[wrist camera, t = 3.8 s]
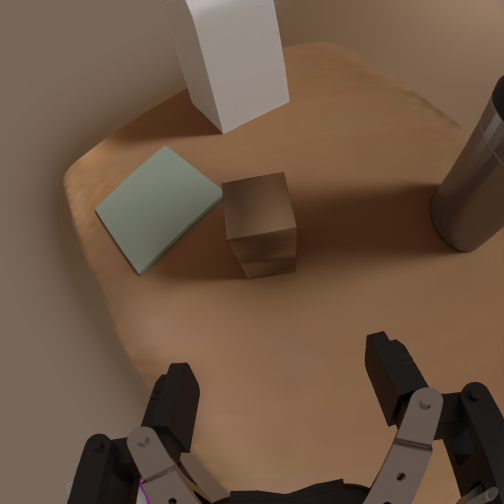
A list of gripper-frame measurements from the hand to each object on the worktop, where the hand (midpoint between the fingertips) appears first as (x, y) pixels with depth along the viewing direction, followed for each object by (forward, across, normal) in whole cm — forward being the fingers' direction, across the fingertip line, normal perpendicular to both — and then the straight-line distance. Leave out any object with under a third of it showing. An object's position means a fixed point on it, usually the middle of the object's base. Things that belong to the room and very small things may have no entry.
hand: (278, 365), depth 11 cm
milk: (+38, 0, -16) cm, 42 cm away
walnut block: (+19, 0, +3) cm, 19 cm away
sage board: (+26, +14, -4) cm, 29 cm away
